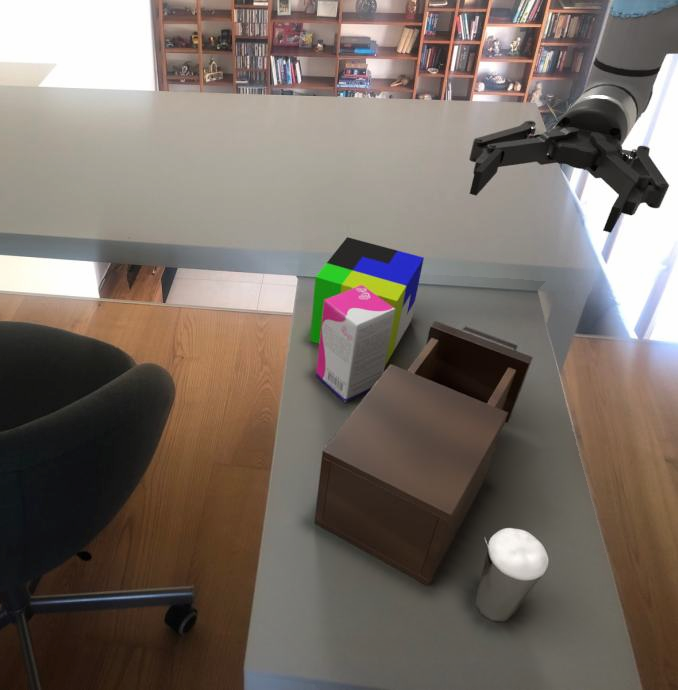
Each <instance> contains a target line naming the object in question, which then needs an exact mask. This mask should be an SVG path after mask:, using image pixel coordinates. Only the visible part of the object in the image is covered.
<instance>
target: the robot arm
mask: <svg viewBox="0 0 678 690" xmlns="http://www.w3.org/2000/svg"><path fill="white" fill-rule="evenodd" d="M602 32H603V33H602V35H601V40H600V42H599V47H598V49H597V52H596V55H595V58H594V60H593V62H592V65H591V68H590V71H589V74H588V77H587V81H586V83H585V86H584V89H583V91H582V93H581V94H580V96H579V97H578V98H577V99H576V100H575V102H574V103H573V104H572V105H571V106H570V107H569V108H568V110H567V111H566V112H565V113H564V114H563V115H562V116H561V118H560V119H559V121H558V122H557V123H556V125H555V126H554V127H553V128H549V129H547V130H546V131H545V130H541V129H537V127H536V124H537V123H536V122H535V121H534V120H525V121H524V122H523V123H521V124H520V125H517V126H514V127H511V128H506V129H503V130H500V131H496V132H493V133H490V134H486V135H481V136H479V137H475V138H473V142H472V146H471V151H470V153H469V161H470V162H473V163H474V167H473V178H472V182H471V185H470V186H471V187H470V191H469V195H472V196H478V195H479V194H480V192H481V191H482V190H483V189H484V187H486V185H488V183H489V182H490V181H491V180H492V179H493V178H494V176H496V174H497V173H498V169H499V168H502V167H509V166H516V165H517V166H518V165H523V164H530V163H537V164H538V165H541V166H544V165H549V164H559V165H567V166H568V167H571V168H574V169H580V170H583V171H587V172H588V173H589V174H590V175H591V176H592V177H593V178H595V179H601V180H602V181H603V182H604V183H605V184H607V185H608V186H609V187H610V188H611V189H612V190H613V191H614V192H615V193H616V194H617V195H618V196H617V198H616V199H615V201H614V203H613V205H612V206H611V209H610V212H609V215H608V217H607V219H606V221H605V225H604V227H603V229H602V232H607V233H610V234H611V233H612V232H613V230H614V228H615V226H616V224H617V223H618V221H619V220H620V217H621V215H622V214H624V215H626V216H627V215H628V216H634V215H635V214H636V212H637V210H638V208H639V206H640V205H641V204H646V206H648V207H649V208H652V209H660V207H661V205H662V203H663V201H664V199H665V196H666V194H667V193H668V190H669V187H670V184H669V183H668V181H667V180H666V178H665V176H664V175H663V174H662V172H661V170H660V169H659V168H658V167H657V165H656V163H655V162H654V161H653V160H652V158H651V157H650V151H651V148H650V147H649V146H646V145H639V146H637V148H636V149H635V148H634V149H631V150H628V149H623V144H624V143H625V141H626V139H628V136H629V135H630V133H631V131H632V130H633V128H634V126H635V124H636V123H637V122H638V120H639V119H640V118H641V116H642V115H643V114H644V113H645V112H646V110H647V109H648V107H649V105H650V102H651V100H652V97H653V94H654V85H655V83H656V81H657V78H658V75H659V72H660V71H661V68H662V66H663V63H664V61H665V59H666V56H667V55H678V0H612V2H611V3H610V8H609V11H608V15H607V18H606V21H605V26H604V28H603V31H602Z"/></svg>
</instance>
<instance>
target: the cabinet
mask: <svg viewBox="0 0 678 690" xmlns="http://www.w3.org/2000/svg"><path fill="white" fill-rule="evenodd" d="M507 415H508V412H506V411H503V410H501V409H499V408H496V407H494V406H491V405H489V404H486V403H484V402H482V401H479V400H477V399H474V398H472V397H469V396H467V395H465V394H462V393H460V392H457V391H455V390H453V389H450V388H448V387H445V386H443V385H440V384H438V383H436V382H433V381H431V380H428V379H426V378H423V377H421V376H419V375H416V374H414V373H411V372H409V371H407V370H406V369H404V368H402V367H400V366H398V365H397V366H396V365H395V364H393V363H390V364H389V365H388V366H387V368H386V369H384V373H383V374H382V375H381V377H380V378H379V379H378V381H377V382H376V383H375V384H374V386H373V387H372V388H371V389H370V391H368V392H366V394H365V396H364V397H363V398H362V399H361V401H360V402H359V403H358V405H357V406H356V407H355V409H354V410H353V411H352V413H351V414H350V415H349V416H348V417H347V419H346V420H345V422H344V423H343V424H342V425H341V427H340V428H339V429H337V432H336V433H335V434H334V435H333V437H332V438H331V439H330V440H329V441H328V443H327V444H326V446H324V448H323V449H322V452H321V462H320V470H319V478H318V488H317V496H316V505H315V512H314V513H315V514H314V520H313V521H314V522H313V523H314V524H316V525H317V526H319V527H321V528H322V529H325V530H327V531H328V532H330V533H332V534H334V535H336V536H338V537H339V538H341V539H342V540H344V541H346V542H348V543H350V544H351V545H353V546H355V547H356V548H359V549H360V550H362V551H364V552H366V553H368V554H369V555H371V556H374V557H375V558H377V559H378V560H380V561H382V562H383V563H385V564H388V565H389V566H391V567H393V568H395V569H396V570H398V571H400V572H401V573H403V574H405V575H407V576H409V577H411V578H412V579H415V580H417V581H418V582H420V583H421V584H423V585H425V586H429V585H430V583H431V581H432V580H433V577H434V576H435V574H436V572H437V570H438V568H439V566H440V565H441V563H442V561H443V559H444V557H445V555H446V553H447V551H448V550H449V547H450V546H451V544H452V542H453V540H454V538H455V537H456V535H457V533H458V531H459V529H460V527H461V525H462V523H463V521H464V520H465V518H466V516H467V514H468V512H469V510H470V509H471V506H472V505H473V504H474V501H475V499H476V498H477V496H478V493H479V492H480V490H481V488H482V486H483V483H484V481H485V478H486V475H487V472H488V470H489V467H490V464H491V462H492V459H493V455H494V453H495V450H496V447H497V445H498V442H499V439H500V436H501V434H502V431H503V428H504V427H505V426H504V425H505V424H506V422H505V420H506V418H507Z"/></svg>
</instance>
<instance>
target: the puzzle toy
mask: <svg viewBox="0 0 678 690" xmlns="http://www.w3.org/2000/svg"><path fill="white" fill-rule="evenodd" d="M424 259H425V257H424V256H421V255H416V254H413V253H409V252H405V251H401V250H397V249H393V248H389V247H386V246H383V245H379V244H376V243H371V242H368V241H363V240H360V239H356V238H352V237H348V236H347V237H346V238H345V239H344V241H343V242H342V243H341V244H340V246H339V247H338V248H337V249H336V251H335V252H334V253H333V255H331V256H330V258H329V259H328V260H327V261H326V263H325V264H324V266H323V267H322V268H321V269H320V271H318V273H317V274H316V275H315V278H314V291H313V301H312V302H313V303H312V304H313V305H312V313H311V326H310V336H309V338H310V339H309V341H310V342H312V343H314V344H318V345H319V343H320V334H321V325H322V316H323V306H324V300H325V299H327V298H330V297H333V296H335V295H338V294H341V293H343V292H346V291H348V290H350V289H353V288H355V287H358V286H360V285H363V286H364V287H366V288H367V289H368V290H370V291H371V292H372V293H374V294H375V295H377V296H378V297H379V298H381V299H382V300H384V301H385V302H386V303H388V304H389V305H391V306H392V307H393V308H395V314H394V319H393V325H392V330H391V335H390V341H389V346H388V352H387V357H386V362H385V366H387V364H388V362H389V360H390V358H391V356H392V355H393V353H394V351H395V350H396V348H397V346H398V345H399V343H400V341H401V339H402V338H403V335H404V334H405V332H406V331H407V329H408V327H409V325H410V324H411V322H412V318H413V313H414V308H415V304H416V303H415V302H416V299H417V293H418V288H419V284H420V278H421V273H422V268H423V264H424Z"/></svg>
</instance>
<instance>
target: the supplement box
mask: <svg viewBox="0 0 678 690" xmlns="http://www.w3.org/2000/svg"><path fill="white" fill-rule="evenodd" d="M394 314H395V308H393V307H392V306H391V305H389V304H388V303H386V302H385V301H384V300H382V299H381V298H379V297H378V296H377V295H375V294H374V293H372V292H371V291H370V290H368V289H367V288H366V287H364V286H363V285H360V286H358V287H355V288H353V289H350V290H348V291H346V292H343V293H341V294H338V295H335V296H333V297H330V298H327V299H325V300H324V306H323V316H322V325H321V334H320V343H319V344H318V354H317V364H316V372H315V376H316V378H318V380H320V381H321V382H322V383H323V384H324V385H325V386H326V387H327V388H328V389H329V390H330V391H332V393H334V394H335V395H336V397H338V398H339V399H340V400H341V401H342V402H343V403H348V402H350V401H352V400H354V399H356V398H358V397H361V396H362V395H364V394H367V393H368V392H369V391H370V389H371V388H372V387H373V386H374V384H375V383H376V382H377V381H378V379H379V378H380V377H381V375H382V374H383V373H384V372H385V367H386V365H385V362H386V357H387V352H388V346H389V341H390V335H391V330H392V325H393V319H394Z"/></svg>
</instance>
